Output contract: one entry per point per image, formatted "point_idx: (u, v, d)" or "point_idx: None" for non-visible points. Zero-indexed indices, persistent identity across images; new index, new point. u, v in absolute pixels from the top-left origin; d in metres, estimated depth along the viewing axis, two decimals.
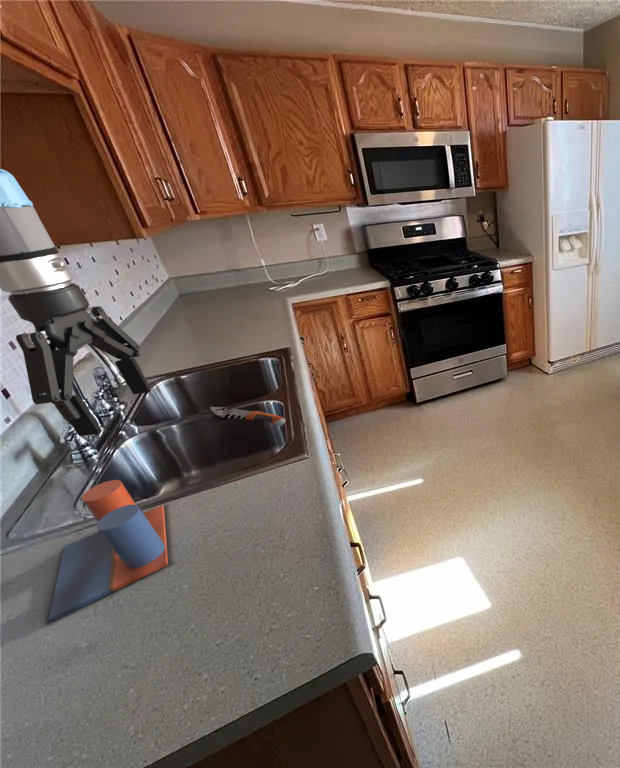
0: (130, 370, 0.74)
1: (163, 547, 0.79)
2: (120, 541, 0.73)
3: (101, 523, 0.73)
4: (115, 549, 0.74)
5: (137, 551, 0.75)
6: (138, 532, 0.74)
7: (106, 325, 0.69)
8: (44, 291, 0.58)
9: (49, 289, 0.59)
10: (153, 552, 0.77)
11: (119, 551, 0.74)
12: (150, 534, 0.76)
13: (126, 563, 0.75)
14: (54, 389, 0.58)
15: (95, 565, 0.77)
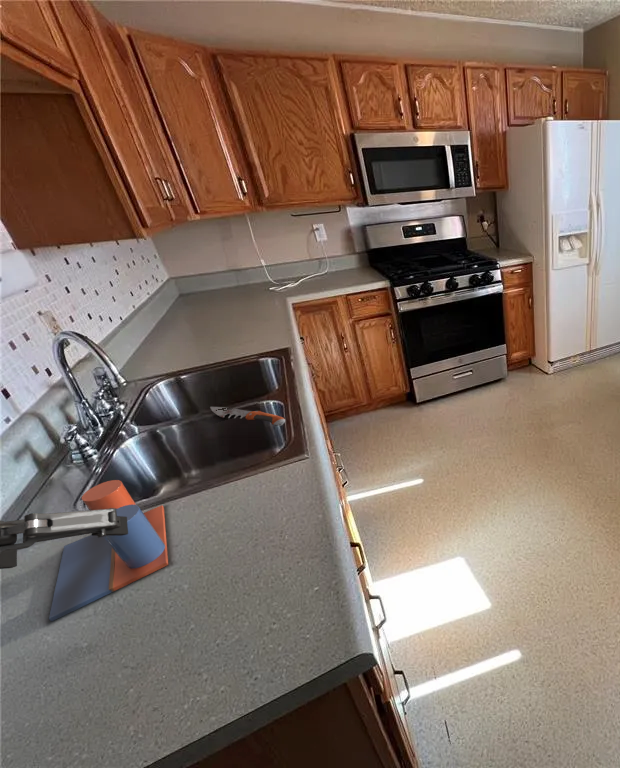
0: None
1: (163, 547, 0.79)
2: (120, 541, 0.73)
3: None
4: (115, 549, 0.74)
5: (137, 551, 0.75)
6: (138, 532, 0.74)
7: None
8: None
9: None
10: (153, 552, 0.77)
11: (119, 551, 0.74)
12: (150, 534, 0.76)
13: (126, 563, 0.75)
14: None
15: (95, 565, 0.77)
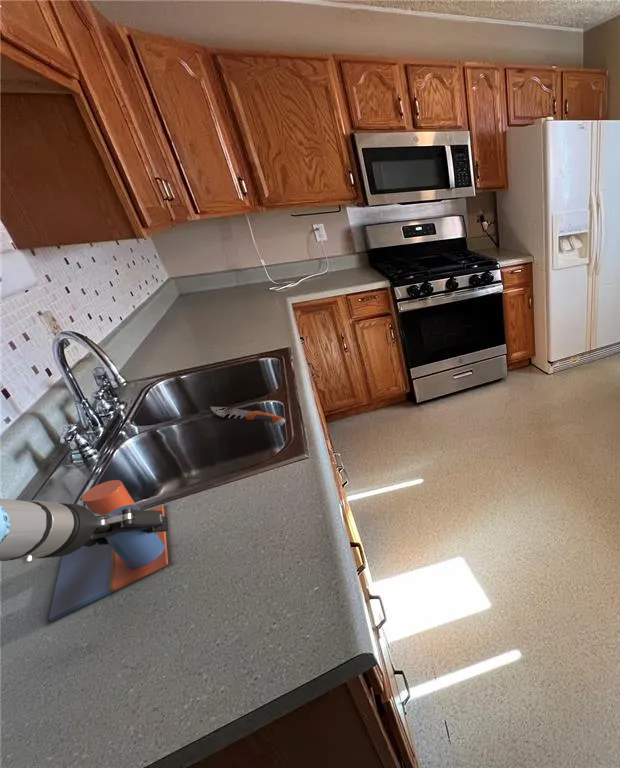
0: None
1: (163, 547, 0.79)
2: (120, 541, 0.73)
3: None
4: (115, 550, 0.74)
5: (137, 551, 0.75)
6: (138, 532, 0.74)
7: None
8: None
9: None
10: (153, 552, 0.77)
11: (119, 551, 0.74)
12: (150, 534, 0.76)
13: (126, 563, 0.75)
14: None
15: (95, 565, 0.77)
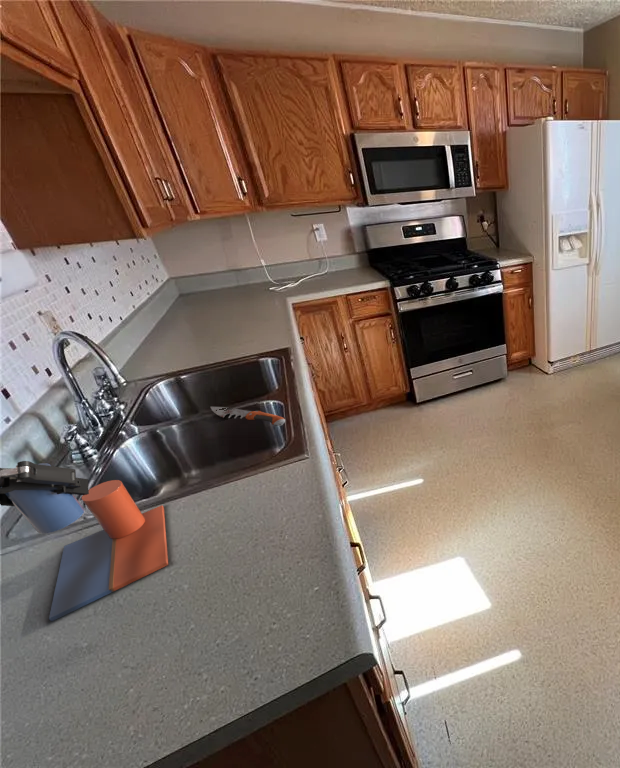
0: None
1: (82, 512, 0.72)
2: (26, 501, 0.66)
3: None
4: (22, 511, 0.66)
5: (47, 514, 0.68)
6: (48, 493, 0.67)
7: None
8: None
9: None
10: (67, 516, 0.70)
11: (26, 513, 0.66)
12: (63, 496, 0.69)
13: (36, 527, 0.68)
14: None
15: (95, 565, 0.77)
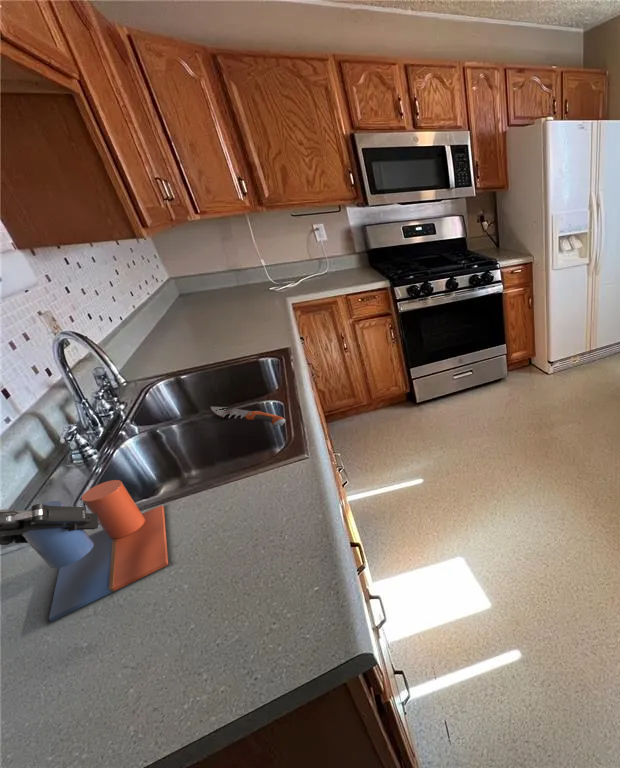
0: None
1: (91, 546, 0.75)
2: (39, 539, 0.69)
3: None
4: (35, 548, 0.70)
5: (59, 550, 0.71)
6: (60, 530, 0.70)
7: None
8: None
9: None
10: (78, 551, 0.73)
11: (39, 550, 0.70)
12: (74, 532, 0.72)
13: (48, 563, 0.71)
14: None
15: (95, 565, 0.77)
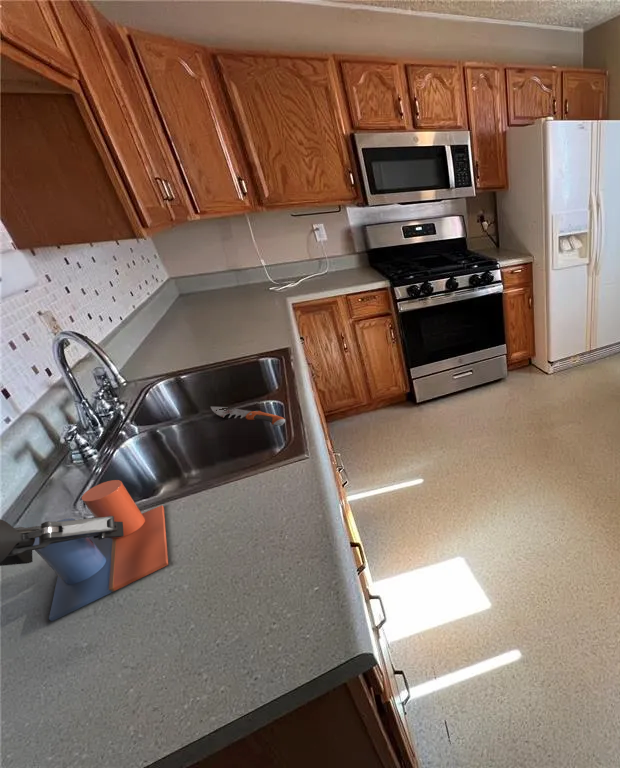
0: None
1: (104, 562, 0.77)
2: (55, 556, 0.71)
3: (35, 538, 0.71)
4: (50, 565, 0.72)
5: (73, 567, 0.73)
6: (74, 547, 0.72)
7: None
8: None
9: None
10: (92, 567, 0.75)
11: (54, 567, 0.72)
12: (88, 549, 0.74)
13: (62, 579, 0.73)
14: None
15: None
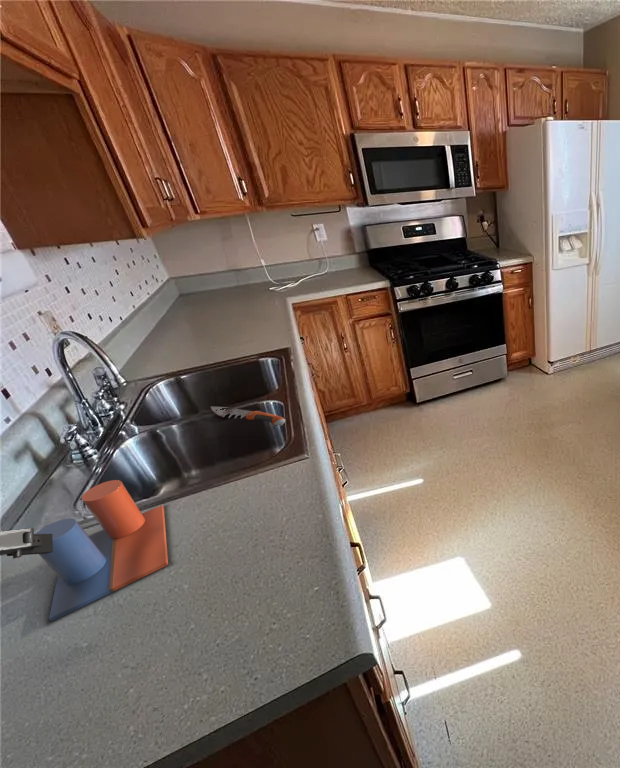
0: None
1: (104, 562, 0.77)
2: (55, 556, 0.71)
3: None
4: (50, 565, 0.72)
5: (73, 567, 0.73)
6: (74, 547, 0.72)
7: None
8: None
9: None
10: (92, 567, 0.75)
11: (54, 567, 0.72)
12: (88, 549, 0.74)
13: (62, 579, 0.73)
14: None
15: None
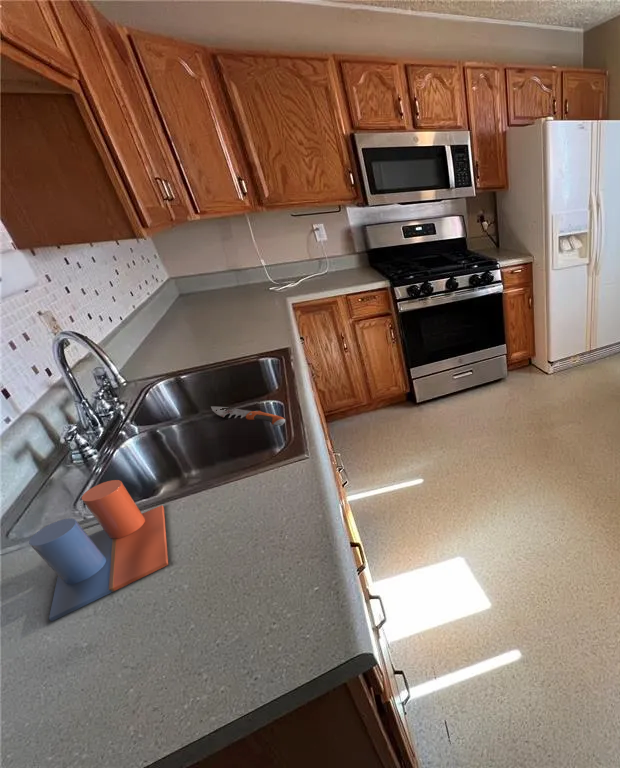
0: None
1: (104, 562, 0.77)
2: (55, 556, 0.71)
3: (35, 538, 0.71)
4: (50, 565, 0.72)
5: (73, 567, 0.73)
6: (74, 547, 0.72)
7: None
8: None
9: None
10: (92, 567, 0.75)
11: (54, 567, 0.72)
12: (88, 549, 0.74)
13: (62, 579, 0.73)
14: None
15: None
